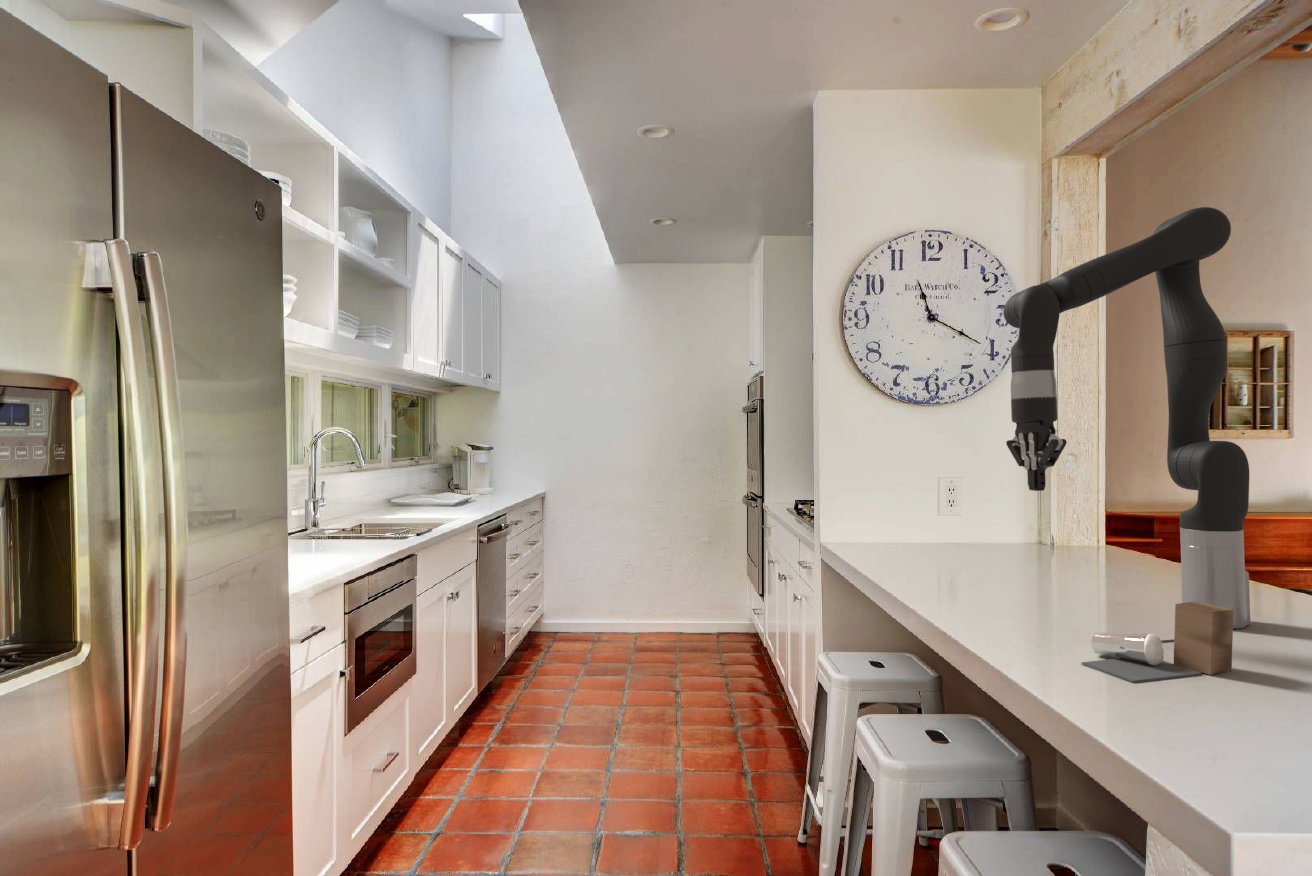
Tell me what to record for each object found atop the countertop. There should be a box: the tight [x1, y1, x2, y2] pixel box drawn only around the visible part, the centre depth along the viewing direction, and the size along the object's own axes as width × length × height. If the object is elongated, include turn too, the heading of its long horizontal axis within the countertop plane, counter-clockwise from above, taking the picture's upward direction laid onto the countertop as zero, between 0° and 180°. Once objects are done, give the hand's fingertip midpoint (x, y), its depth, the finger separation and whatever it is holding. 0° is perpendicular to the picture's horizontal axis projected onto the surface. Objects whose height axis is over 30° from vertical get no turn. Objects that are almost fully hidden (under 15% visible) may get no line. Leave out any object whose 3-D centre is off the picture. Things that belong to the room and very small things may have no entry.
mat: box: [1081, 657, 1203, 684], centre depth 107 cm, size 12×9×1 cm
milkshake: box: [1090, 632, 1174, 665], centre depth 111 cm, size 4×5×10 cm
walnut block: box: [1173, 601, 1234, 676], centre depth 107 cm, size 5×5×9 cm
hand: (1036, 490), depth 133 cm, fingers closed
